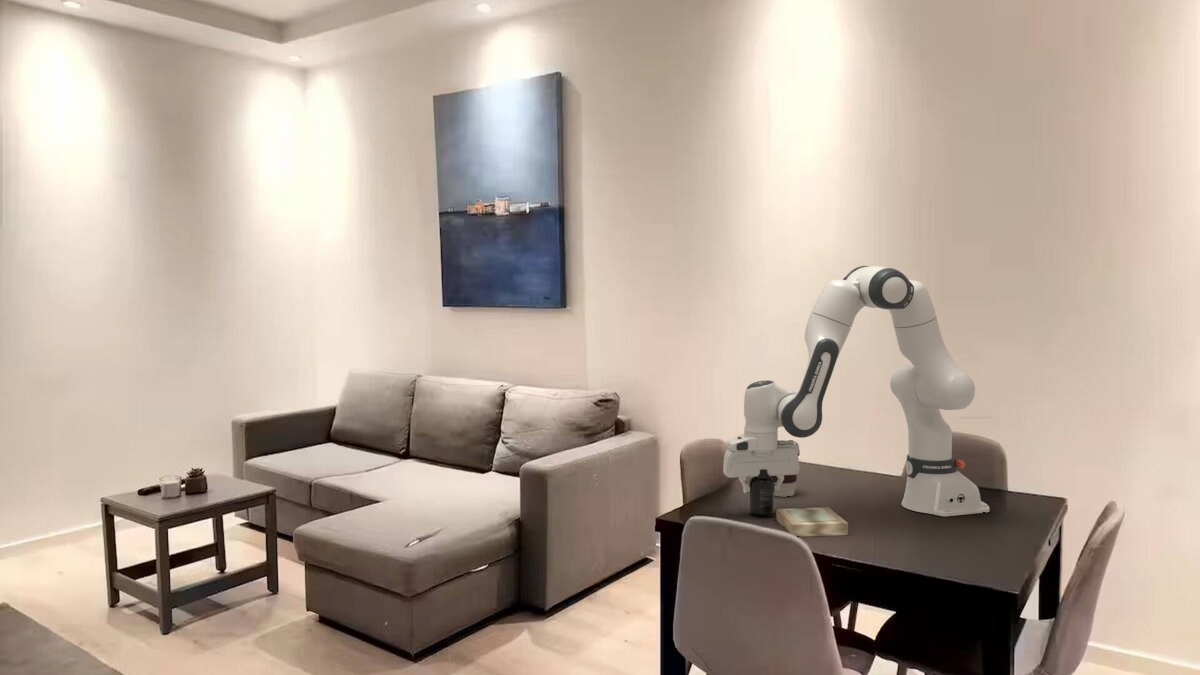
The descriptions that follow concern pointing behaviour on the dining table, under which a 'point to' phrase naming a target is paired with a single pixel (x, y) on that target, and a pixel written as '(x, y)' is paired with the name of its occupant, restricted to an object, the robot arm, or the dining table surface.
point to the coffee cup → (786, 485)
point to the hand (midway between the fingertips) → (761, 491)
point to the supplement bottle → (761, 494)
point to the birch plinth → (812, 522)
